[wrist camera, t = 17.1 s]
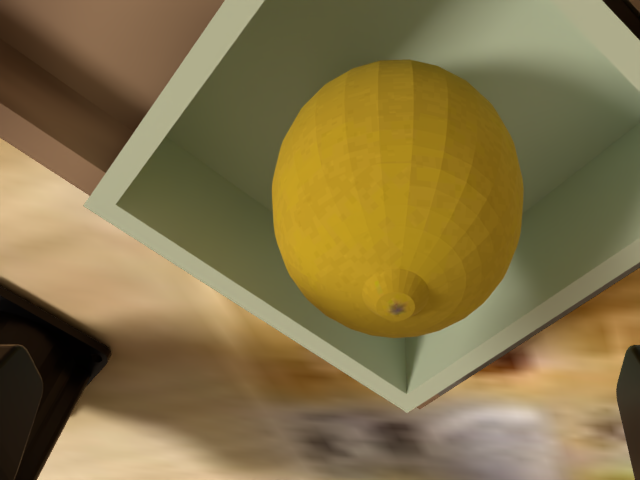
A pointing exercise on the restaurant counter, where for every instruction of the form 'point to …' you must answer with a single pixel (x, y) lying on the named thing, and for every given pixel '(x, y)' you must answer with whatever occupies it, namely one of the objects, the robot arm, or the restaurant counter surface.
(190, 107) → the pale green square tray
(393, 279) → the lemon
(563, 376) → the restaurant counter surface
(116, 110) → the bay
